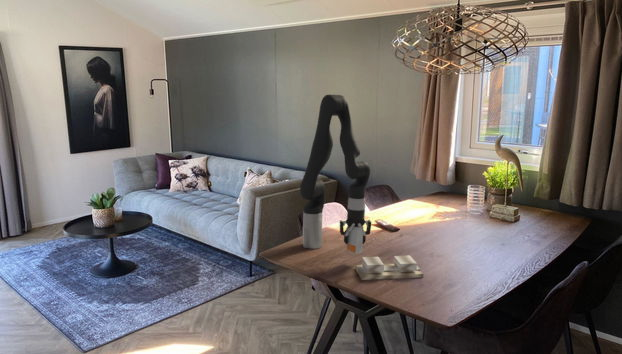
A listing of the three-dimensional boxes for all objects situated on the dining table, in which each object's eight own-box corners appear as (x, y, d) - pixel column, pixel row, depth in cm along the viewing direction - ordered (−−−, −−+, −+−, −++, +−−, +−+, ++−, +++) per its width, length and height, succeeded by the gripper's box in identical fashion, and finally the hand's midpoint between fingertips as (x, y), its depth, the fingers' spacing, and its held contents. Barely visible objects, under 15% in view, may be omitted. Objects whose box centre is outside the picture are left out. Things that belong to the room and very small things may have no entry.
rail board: (361, 279, 190) (362, 266, 189) (355, 268, 202) (355, 256, 201) (423, 277, 193) (424, 264, 192) (413, 266, 205) (414, 254, 204)
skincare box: (345, 250, 208) (346, 225, 205) (352, 248, 211) (353, 223, 208) (356, 254, 204) (357, 228, 201) (362, 252, 206) (363, 226, 204)
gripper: (370, 204, 207) (368, 240, 211) (338, 205, 206) (336, 240, 209) (374, 209, 200) (372, 246, 204) (341, 209, 198) (339, 246, 202)
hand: (354, 243), depth 206 cm, fingers closed on skincare box, 6 cm apart
